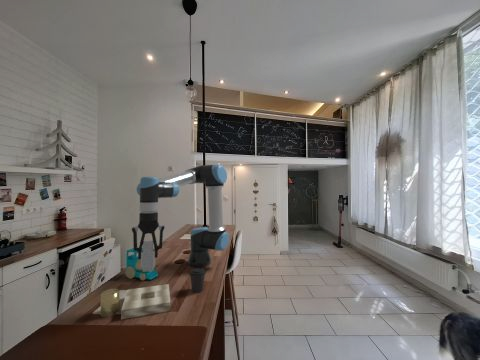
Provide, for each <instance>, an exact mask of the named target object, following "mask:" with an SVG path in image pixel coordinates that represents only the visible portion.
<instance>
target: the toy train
mask: <svg viewBox="0 0 480 360" xmlns="http://www.w3.org/2000/svg"><path fill="white" fill-rule="evenodd" d="M142 250H143V247H142ZM129 253H133V254H130V255H129ZM137 255H138V251H134V247H133V248H130V249H127V250H126V259H125V260H126V263H125V265H126V267H125V276H126V278H127V279H134V278H137V279H138V278H139V280H141V281H145V280H152V279H155V278H156V277H158V276H159V274H158V272H157V271H156V269H155V267H156V265H155V266H153V271H146V272H143V267H142V268H141V259H138V256H137Z"/></svg>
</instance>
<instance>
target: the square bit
mask: <svg viewBox="0 0 480 360" xmlns="http://www.w3.org/2000/svg"><path fill="white" fill-rule="evenodd" d="M142 248H143V272H146V271H153V250H154V243H153V240H144V242H143V246H142Z"/></svg>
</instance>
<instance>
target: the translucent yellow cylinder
mask: <svg viewBox="0 0 480 360" xmlns="http://www.w3.org/2000/svg"><path fill="white" fill-rule="evenodd" d="M118 311H119V312H120V289H118V288H111V289H106V290H104V291H102V292H101V293H100V313H99V315H100V316H101V317H102V318H109V317H113V316H115V315H117V314H118V313H119V312H118ZM117 312H118V313H117ZM116 313H117V314H116Z"/></svg>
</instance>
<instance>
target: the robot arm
mask: <svg viewBox="0 0 480 360" xmlns="http://www.w3.org/2000/svg"><path fill="white" fill-rule="evenodd" d="M227 180H228V172H227V170H226V168H225V167H224V165H221V164H207V165H205V164H204V165H198V166H195V167H191V168H188V169H186V170H185V171H183V172H180V173H176V174H172V175H169V176H166V177H162V178H159V177H156V176H142V177H141V178H140V181H139V184H137V186H136V192H137V195H139V212H140V213H139V218H138V219H139V220H138V221H139V222H138V224H137V225H136V226H133V227H131V231H132V234H133V235H132V236H133V238H132V239H133V248H134V251H138V253H137V255H138V256H137V257H138V259H141V268H142V267H143V250H142V248H143V242H144V241H145V237H146V235H147V234H150V235H151V237H152V239H151V240H152V241H153V266H155V267H156V259H157V258H158V255H159V254H158V253H159V250H162V248H163V239H164V238H163V236H164V230H165V225H163V224H162V225H161V224H160V223H159V213H158V211H159V199H163V198H176V197H177V196H178V195H179V193H180V187H182V186H185V185H194V184H204V187H205V188H206V189H207V203H208V205H207V206H208V223H209V224H208V225H209V226H208V227H207V226H204V227H197V228H196V227H195V228H193V229H191V230H190V253H189V256H188V259H187V265H188V266H190V267H194V268H201V267H206V266H209V265H211V263H212V259H211V255H210V252H209V250H213V251H217V252H218V251H220V252H222V251H223V252H224V250H226V249H227V248H228V245H229V243H230V234H229V233H228V232H227V231H226V227H225V226H224V223H223V222H224V219H223V199H222V198H223V197H222V195H223V193H222V188H224V185H225V183H226V182H227ZM157 229H158V230H159V245H158V243H157V237H156V233H155V232H156V230H157ZM138 230H140V231H141V238H140V242H139V245H138Z"/></svg>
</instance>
